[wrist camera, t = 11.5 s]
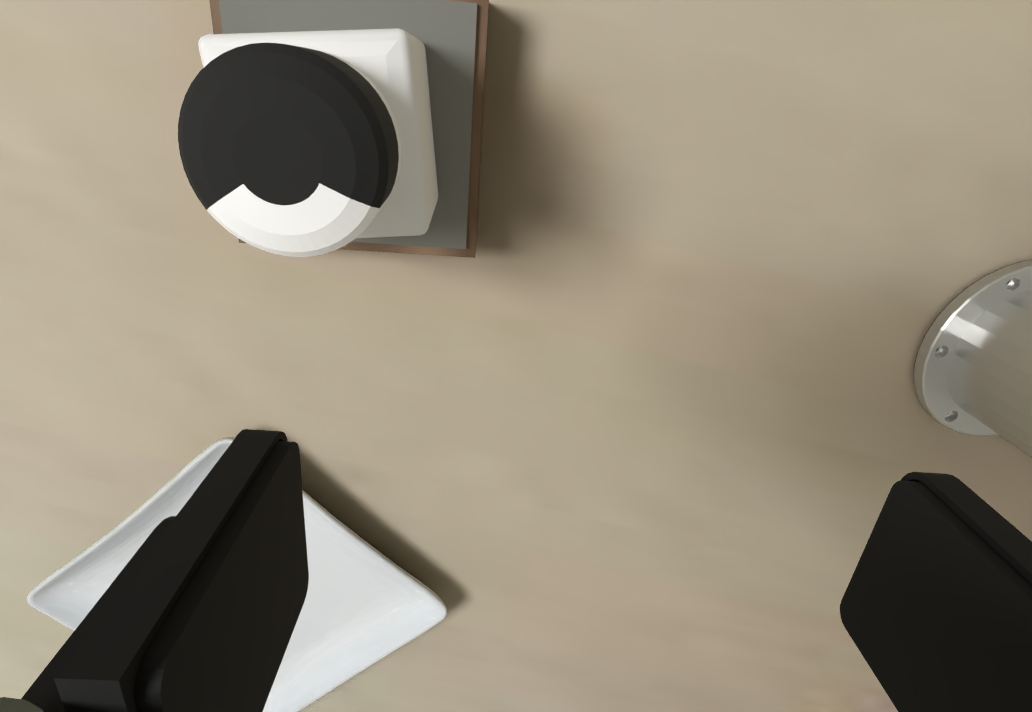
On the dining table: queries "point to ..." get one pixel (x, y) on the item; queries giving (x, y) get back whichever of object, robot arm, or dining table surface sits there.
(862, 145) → the dining table surface
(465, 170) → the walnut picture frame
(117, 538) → the salad plate
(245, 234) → the medicine bottle
